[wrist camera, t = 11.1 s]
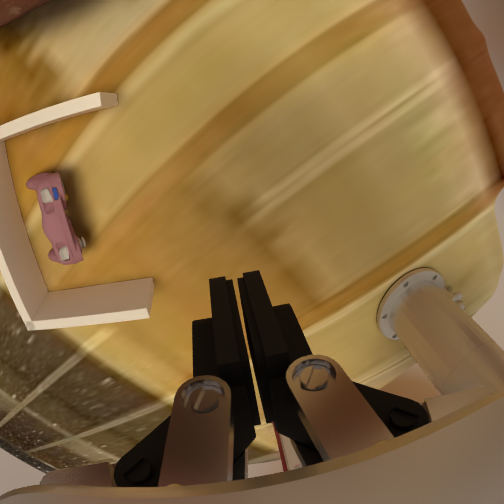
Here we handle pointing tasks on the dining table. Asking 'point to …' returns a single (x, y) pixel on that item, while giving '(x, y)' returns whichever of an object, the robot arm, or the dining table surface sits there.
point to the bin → (23, 259)
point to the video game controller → (56, 218)
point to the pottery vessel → (17, 9)
